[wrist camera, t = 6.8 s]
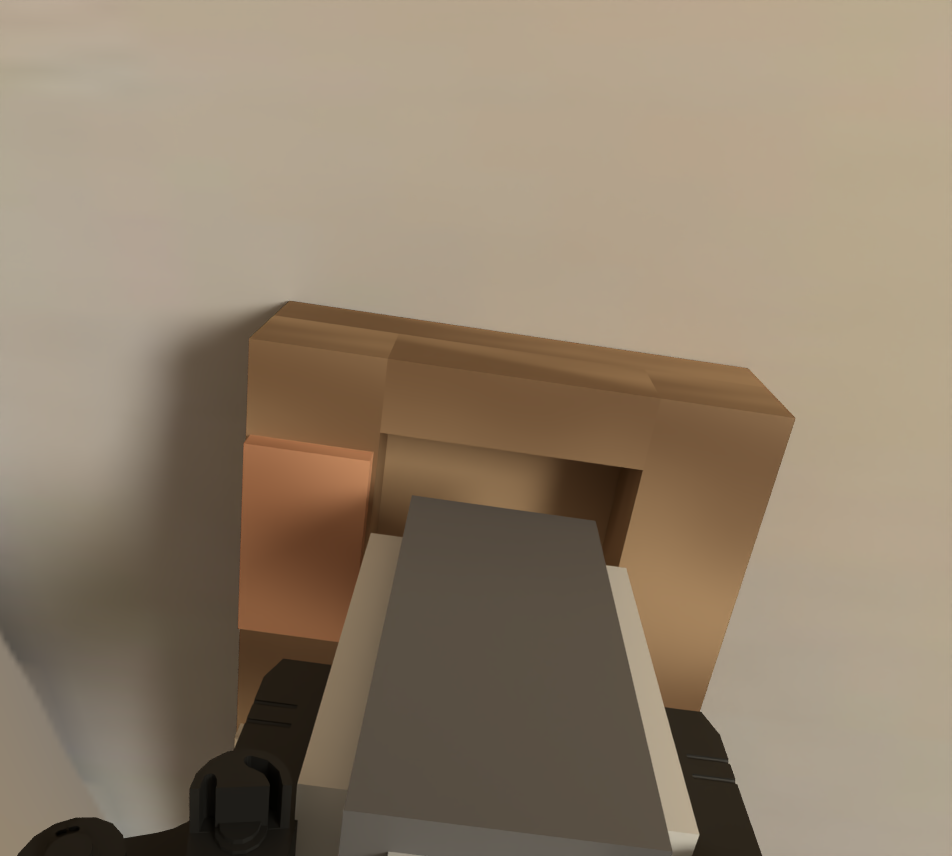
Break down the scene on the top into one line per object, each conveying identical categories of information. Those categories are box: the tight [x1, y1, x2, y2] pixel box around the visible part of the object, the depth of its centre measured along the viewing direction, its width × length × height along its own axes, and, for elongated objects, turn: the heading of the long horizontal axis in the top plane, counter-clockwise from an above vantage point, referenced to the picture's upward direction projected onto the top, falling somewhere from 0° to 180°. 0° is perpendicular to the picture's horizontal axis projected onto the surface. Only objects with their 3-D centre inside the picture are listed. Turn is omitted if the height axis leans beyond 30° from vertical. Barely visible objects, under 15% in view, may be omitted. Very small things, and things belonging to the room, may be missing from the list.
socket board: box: [234, 301, 795, 748], centre depth 22 cm, size 18×12×4 cm, turn 172°
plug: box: [339, 495, 673, 856], centre depth 13 cm, size 4×4×10 cm
